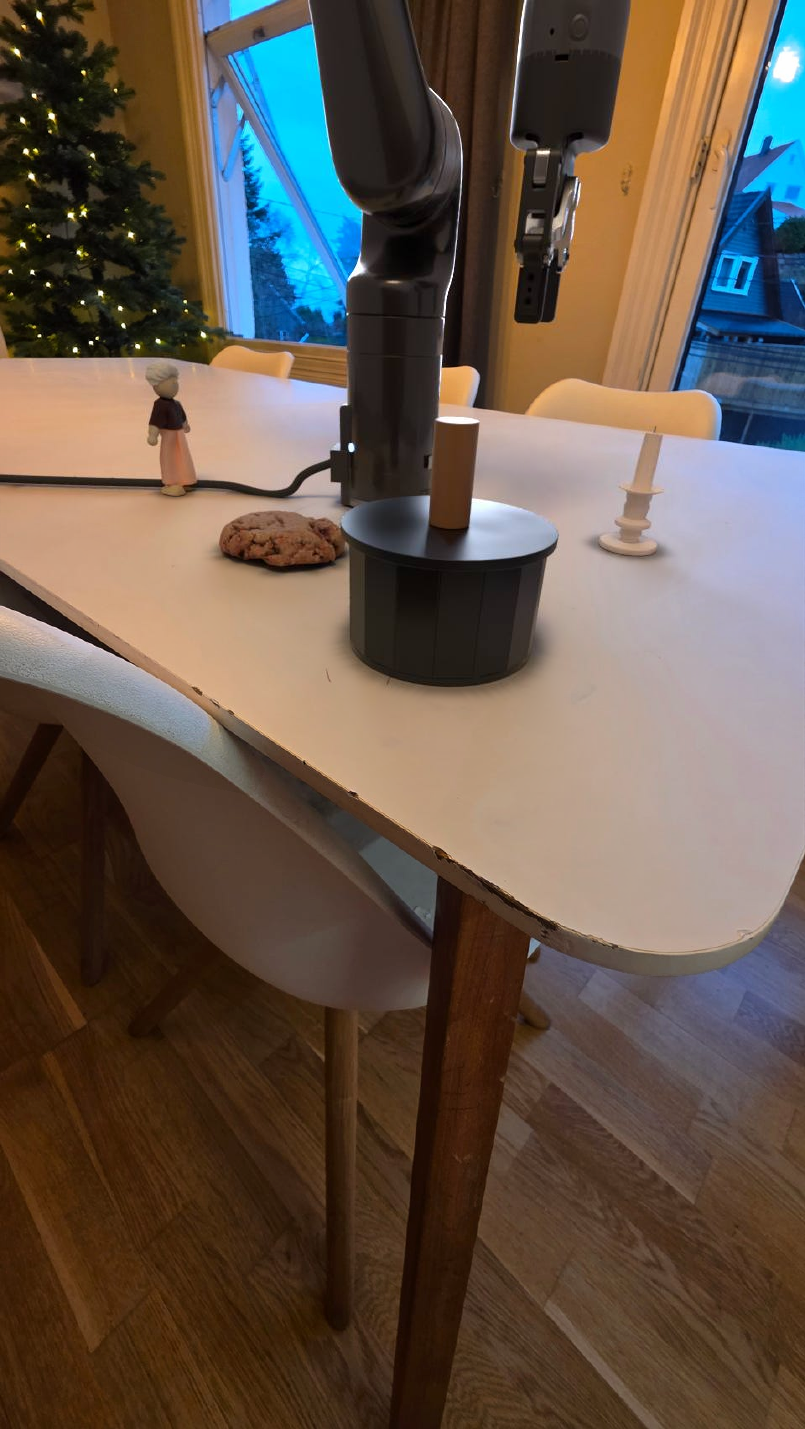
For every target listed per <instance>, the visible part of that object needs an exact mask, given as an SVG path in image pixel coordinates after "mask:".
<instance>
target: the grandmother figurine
mask: <svg viewBox="0 0 805 1429" xmlns="http://www.w3.org/2000/svg"><path fill="white" fill-rule="evenodd" d="M179 376H180V371H179V368H178V367H177V365H176V364H175V363H173V362H171V361H170V360H167V359H163V358H160V359H159V358H158V359H157V360H155V361H153V362H151V364H150V365H149V366H147V367H146V373H145V380H146V381H147V382H148V384H149V385H150V386H152V389H153V391H154V393H155V394H156V395H157V396H158V398H157V399H155V400H154V401H153V405H152V406H153V407H152V410H151V413H150V417H149V421H148V430H147V433H148V436H147V438H146V442H147V444H148V445H149V446H152V447H156V446H157V445H158V443H159V440H158V438H159V436H160V438H161V439H160V444H159V445H160V446H159V465H160V475H161V479H162V483H164V484H165V486H164V487H163V488H161V490H160V493H161V494H163V495H166V496H172V497H173V496H174V497H176V496H177V497H179V496H182V495H183V496H184V495H186V493H187V492H186V491H193V490H195V489H196V488H191V487H183V485H191V484H194V483H197V480H198V477H197V472H196V468H195V464H194V461H193V457H192V454H191V450H190V447H189V442H188V439H187V435H186V434H189V433H190V432H191V430H192V429H191V426H190V424H189V421H188V416H187V413H186V411H185V409H184V407H183V405H182V403H181V402H180V400H177V399H175V397H176V396H177V395H178V393H179V391H180V384H179V379H180V378H179Z"/></svg>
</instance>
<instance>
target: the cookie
mask: <svg viewBox="0 0 805 1429" xmlns="http://www.w3.org/2000/svg"><path fill="white" fill-rule="evenodd" d="M218 545H219V547H220V551H221V552H222V553H225V554H229V555H231V556H232V557H233V556H234V557H236V558H237V557H238V558H239V559H243V560H244V561H245V560H249V559H262V560H263V561H264V563H266V564H268V565H270V566H271V565H272V566H277V567H286V566H291V565H292V566H293V565H299V564H301V565H303V564H309V565H310V564H319V563H321V564H323V563H328V562H329V561H332V562H334V561H335V559H336V558H337V557H339V556H340V555H342V553H343V552H344V549H345V547H346V542H345V541H344V539H343V538H342V536H341V530H340V526H339V525H337V524H336V523H335V522H334V521H332V520H331V519H329V518H327V517H321V518H317V519H315V518H314V516H309V517H308V516H304V515H302V514H301V513H299V512H296V511H287V510H286V511H285V510H284V511H283V510H265V511H253V512H249V513H247V514H244V515H241V516H238V517H237V518H234V519H233V520H231V521H229V522H228V523H226V524H225V525H224V526H223V528H222V530H221V532H220V536H219V540H218Z"/></svg>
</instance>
